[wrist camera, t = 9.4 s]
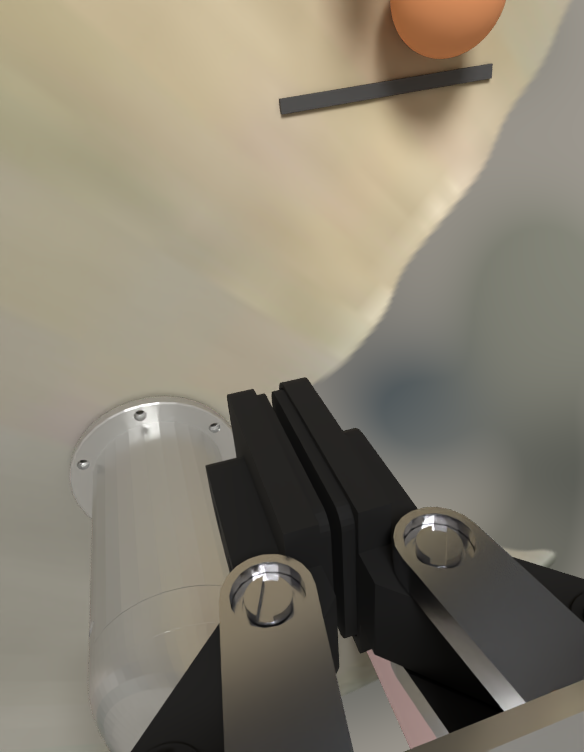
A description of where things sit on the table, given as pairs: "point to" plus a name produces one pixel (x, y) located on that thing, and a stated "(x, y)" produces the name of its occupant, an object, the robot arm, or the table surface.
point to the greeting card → (402, 704)
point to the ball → (444, 24)
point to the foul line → (384, 89)
